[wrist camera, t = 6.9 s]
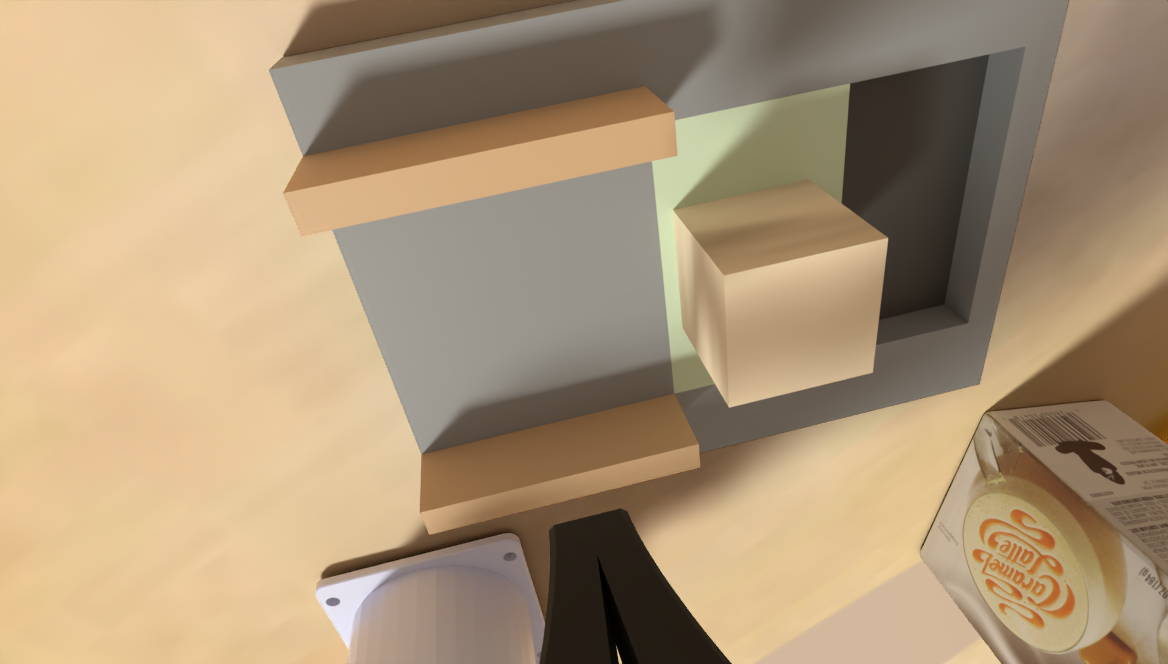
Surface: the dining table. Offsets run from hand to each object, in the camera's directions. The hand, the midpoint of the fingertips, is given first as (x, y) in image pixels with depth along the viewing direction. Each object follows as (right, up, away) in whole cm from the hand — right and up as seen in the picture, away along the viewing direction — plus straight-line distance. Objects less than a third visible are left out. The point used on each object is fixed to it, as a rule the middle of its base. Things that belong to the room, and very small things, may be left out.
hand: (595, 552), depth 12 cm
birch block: (+4, +6, +8) cm, 11 cm away
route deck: (+3, +7, +9) cm, 12 cm away
